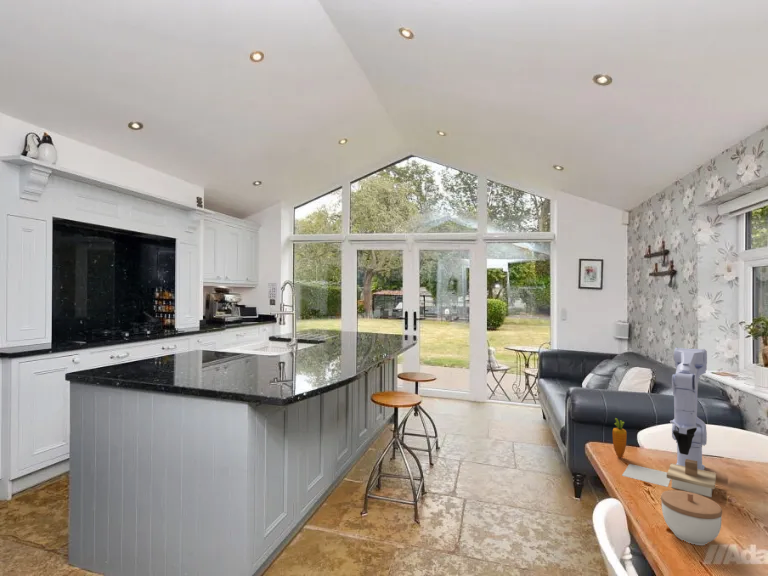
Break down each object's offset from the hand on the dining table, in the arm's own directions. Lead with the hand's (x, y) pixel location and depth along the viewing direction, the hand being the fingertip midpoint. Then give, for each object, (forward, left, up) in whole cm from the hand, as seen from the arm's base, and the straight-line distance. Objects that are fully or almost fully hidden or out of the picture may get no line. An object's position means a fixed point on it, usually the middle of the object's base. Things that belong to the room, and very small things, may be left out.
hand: (685, 451), depth 136 cm
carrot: (-9, -21, -11) cm, 25 cm away
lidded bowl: (+37, +4, -11) cm, 39 cm away
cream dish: (+3, +2, -10) cm, 11 cm away
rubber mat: (+2, -10, -10) cm, 15 cm away
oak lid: (+3, +2, -7) cm, 8 cm away
